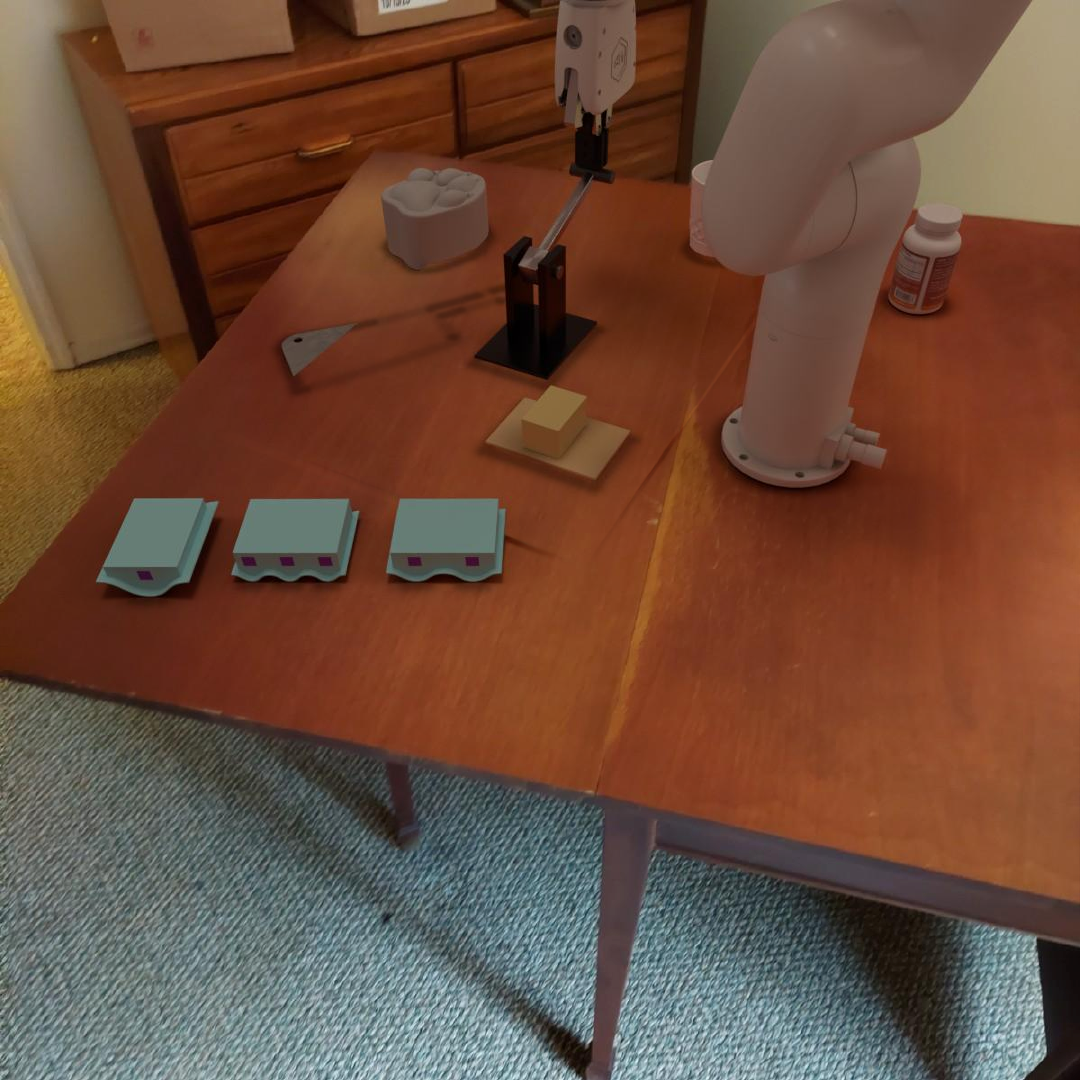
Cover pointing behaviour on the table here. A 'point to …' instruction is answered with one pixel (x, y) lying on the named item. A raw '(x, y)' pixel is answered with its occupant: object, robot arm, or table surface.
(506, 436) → the board
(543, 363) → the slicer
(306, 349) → the cleaver
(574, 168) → the lever
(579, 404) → the butter
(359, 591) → the table surface
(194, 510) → the corrugated panels
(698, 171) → the white cup
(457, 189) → the lumpy-topped squat cylinder
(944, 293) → the pill bottle
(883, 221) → the robot arm
